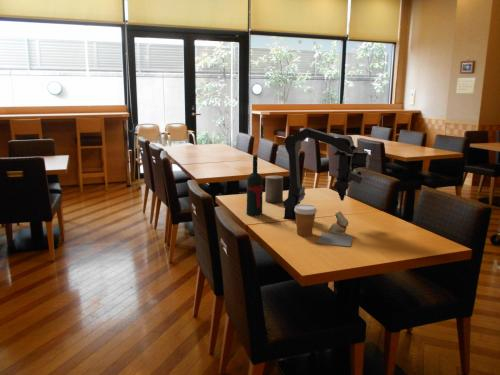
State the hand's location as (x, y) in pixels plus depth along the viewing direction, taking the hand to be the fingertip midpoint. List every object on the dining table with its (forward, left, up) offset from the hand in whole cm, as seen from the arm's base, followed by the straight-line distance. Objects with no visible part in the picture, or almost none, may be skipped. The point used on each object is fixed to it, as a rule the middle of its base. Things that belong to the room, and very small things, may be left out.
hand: (342, 200), depth 198 cm
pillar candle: (-40, +33, -12) cm, 53 cm away
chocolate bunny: (0, -11, -12) cm, 17 cm away
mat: (0, -21, -12) cm, 24 cm away
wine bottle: (-42, +4, -12) cm, 44 cm away
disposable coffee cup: (-13, -17, -12) cm, 25 cm away
